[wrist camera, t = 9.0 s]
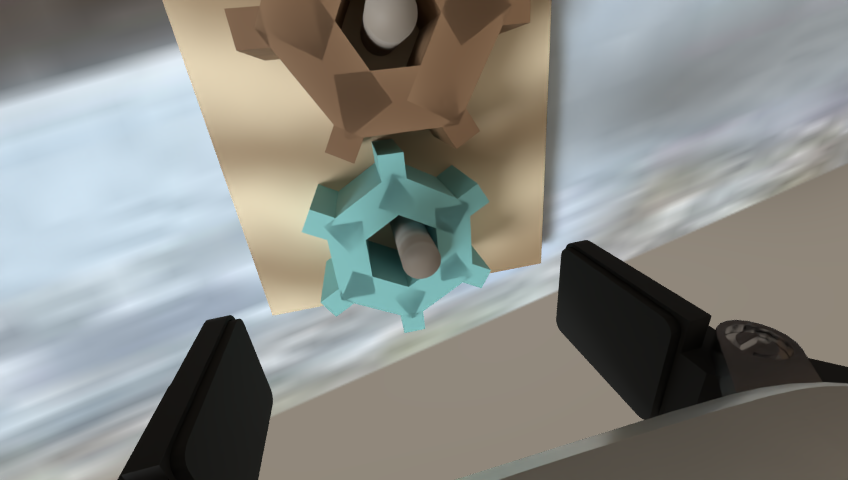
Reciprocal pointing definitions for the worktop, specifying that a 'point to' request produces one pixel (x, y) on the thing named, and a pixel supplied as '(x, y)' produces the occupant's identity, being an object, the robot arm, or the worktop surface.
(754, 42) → the worktop surface
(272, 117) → the gear board
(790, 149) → the worktop surface
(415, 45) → the walnut gear
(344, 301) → the teal gear
